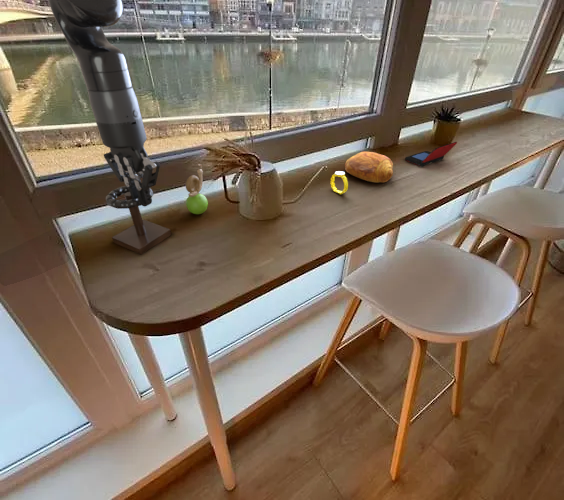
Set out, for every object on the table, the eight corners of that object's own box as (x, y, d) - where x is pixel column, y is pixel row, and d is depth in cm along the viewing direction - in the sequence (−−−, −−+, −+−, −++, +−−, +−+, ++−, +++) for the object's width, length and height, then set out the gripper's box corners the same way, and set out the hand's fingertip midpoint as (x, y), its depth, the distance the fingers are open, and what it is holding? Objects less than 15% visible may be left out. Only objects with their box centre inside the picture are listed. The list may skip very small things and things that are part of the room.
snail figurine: (215, 208, 86) (209, 165, 79) (201, 220, 82) (193, 175, 75) (198, 204, 88) (191, 162, 81) (183, 215, 84) (174, 171, 76)
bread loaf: (372, 194, 98) (379, 171, 92) (335, 171, 106) (340, 149, 100) (401, 180, 105) (409, 158, 99) (364, 160, 113) (370, 138, 107)
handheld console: (425, 153, 120) (431, 133, 115) (451, 162, 113) (458, 141, 108) (402, 160, 114) (407, 139, 110) (429, 170, 107) (435, 148, 103)
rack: (141, 254, 70) (125, 208, 63) (113, 242, 74) (96, 197, 67) (171, 234, 76) (160, 190, 70) (145, 224, 80) (132, 181, 73)
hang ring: (127, 214, 64) (125, 206, 63) (98, 203, 68) (95, 196, 67) (162, 195, 70) (161, 188, 69) (133, 186, 74) (131, 180, 73)
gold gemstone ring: (348, 194, 93) (351, 175, 89) (341, 197, 92) (344, 177, 88) (334, 187, 97) (336, 168, 93) (327, 189, 96) (329, 170, 92)
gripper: (74, 115, 57) (105, 202, 68) (126, 126, 52) (152, 220, 62) (111, 106, 62) (135, 189, 73) (162, 116, 57) (180, 203, 67)
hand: (142, 203), depth 67 cm, fingers closed on hang ring, 2 cm apart
